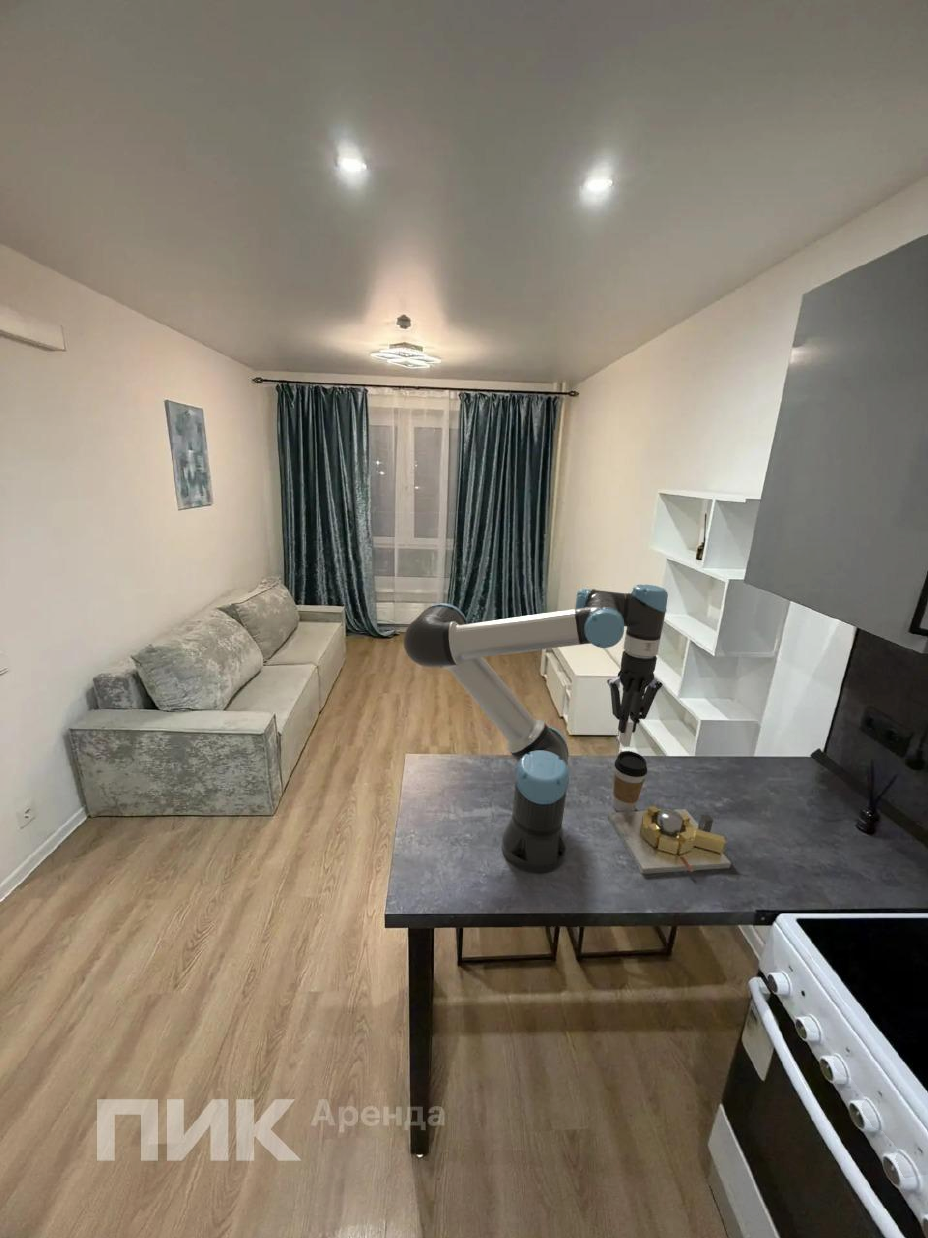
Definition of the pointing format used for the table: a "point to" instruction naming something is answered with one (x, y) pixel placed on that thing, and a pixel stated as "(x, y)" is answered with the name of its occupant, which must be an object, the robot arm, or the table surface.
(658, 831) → the brass ball clamp
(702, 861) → the flange plate
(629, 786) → the coffee cup
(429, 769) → the table surface
